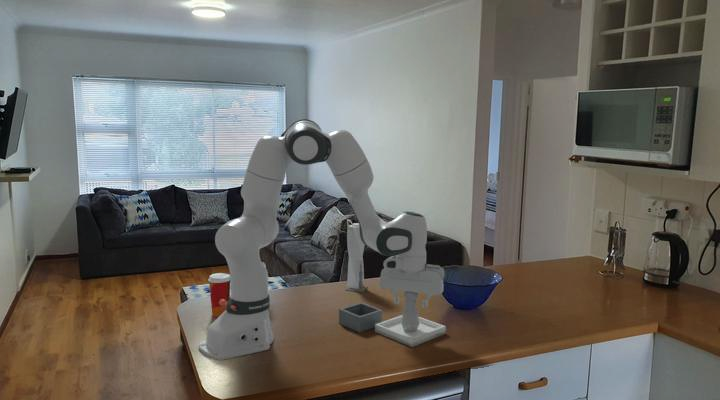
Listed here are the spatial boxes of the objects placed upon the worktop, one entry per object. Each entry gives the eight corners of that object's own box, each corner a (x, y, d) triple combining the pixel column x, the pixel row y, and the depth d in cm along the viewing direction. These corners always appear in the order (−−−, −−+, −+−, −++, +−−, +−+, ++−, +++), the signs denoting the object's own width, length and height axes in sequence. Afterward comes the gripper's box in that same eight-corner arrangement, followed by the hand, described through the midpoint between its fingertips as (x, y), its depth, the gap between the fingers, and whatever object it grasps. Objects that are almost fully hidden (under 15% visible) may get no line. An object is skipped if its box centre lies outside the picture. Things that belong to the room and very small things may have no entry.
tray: (411, 347, 166) (412, 339, 166) (374, 331, 178) (375, 324, 177) (445, 333, 177) (445, 326, 176) (408, 319, 188) (408, 312, 188)
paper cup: (220, 309, 196) (219, 271, 194) (236, 313, 192) (235, 274, 190) (204, 316, 189) (202, 276, 187) (220, 320, 186) (219, 280, 183)
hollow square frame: (359, 332, 177) (359, 317, 176) (338, 323, 184) (339, 309, 184) (382, 324, 184) (382, 310, 183) (361, 316, 191) (361, 302, 190)
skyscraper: (342, 289, 220) (342, 221, 216) (349, 284, 228) (349, 217, 224) (362, 292, 217) (363, 222, 213) (368, 286, 225) (369, 219, 221)
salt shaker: (422, 329, 177) (423, 290, 175) (412, 334, 173) (413, 294, 171) (407, 325, 181) (408, 286, 179) (397, 329, 177) (398, 290, 175)
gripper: (446, 263, 173) (444, 305, 175) (384, 257, 180) (383, 297, 182) (442, 268, 167) (441, 312, 169) (378, 261, 174) (377, 303, 176)
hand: (410, 304), depth 176 cm, fingers open, 8 cm apart
